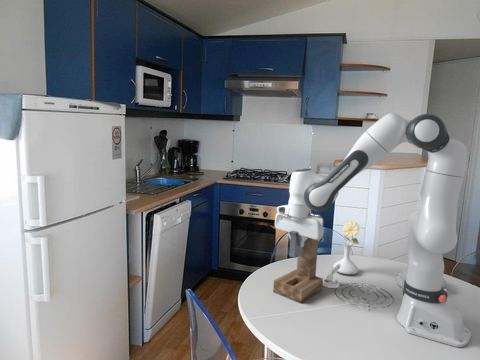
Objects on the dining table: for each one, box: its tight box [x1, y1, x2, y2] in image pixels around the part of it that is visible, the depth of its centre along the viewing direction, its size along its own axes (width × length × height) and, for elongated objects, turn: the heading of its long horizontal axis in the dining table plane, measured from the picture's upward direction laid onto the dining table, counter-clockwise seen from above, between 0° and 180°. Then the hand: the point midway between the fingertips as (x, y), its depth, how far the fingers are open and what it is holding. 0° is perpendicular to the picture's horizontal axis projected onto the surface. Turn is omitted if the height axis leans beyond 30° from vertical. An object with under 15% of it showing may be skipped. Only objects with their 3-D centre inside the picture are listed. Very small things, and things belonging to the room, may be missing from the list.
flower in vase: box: [332, 220, 360, 275], centre depth 168 cm, size 13×11×25 cm
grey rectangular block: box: [289, 231, 303, 259], centre depth 143 cm, size 2×8×10 cm, turn 138°
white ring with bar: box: [322, 264, 341, 289], centre depth 155 cm, size 8×12×7 cm
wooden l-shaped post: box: [272, 237, 324, 304], centre depth 147 cm, size 13×16×23 cm
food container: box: [395, 269, 447, 289], centre depth 159 cm, size 20×20×7 cm
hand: (296, 245), depth 144 cm, fingers closed on grey rectangular block, 2 cm apart
